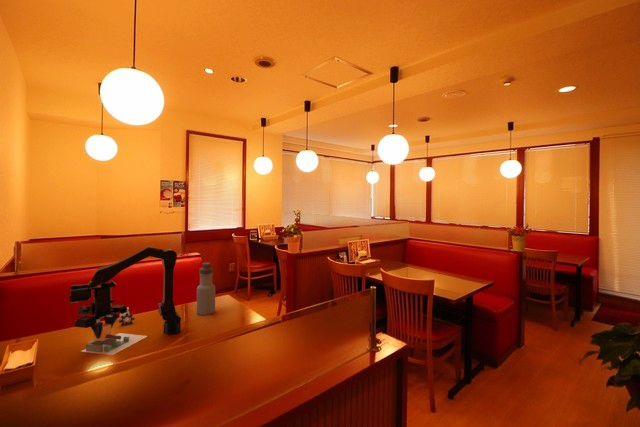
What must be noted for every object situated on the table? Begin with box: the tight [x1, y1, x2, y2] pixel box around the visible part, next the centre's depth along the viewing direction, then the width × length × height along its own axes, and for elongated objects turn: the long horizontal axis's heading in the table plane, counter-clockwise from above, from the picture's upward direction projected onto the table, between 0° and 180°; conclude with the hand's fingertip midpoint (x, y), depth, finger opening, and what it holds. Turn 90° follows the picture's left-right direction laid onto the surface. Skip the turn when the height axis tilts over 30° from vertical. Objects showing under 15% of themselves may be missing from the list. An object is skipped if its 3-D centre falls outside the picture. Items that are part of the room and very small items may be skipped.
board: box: [80, 332, 148, 356], centre depth 125 cm, size 15×18×1 cm
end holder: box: [85, 338, 116, 352], centre depth 121 cm, size 7×7×2 cm
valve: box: [118, 306, 136, 327], centre depth 150 cm, size 7×7×12 cm
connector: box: [93, 322, 121, 341], centre depth 120 cm, size 11×4×6 cm, turn 79°
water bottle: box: [196, 262, 216, 316], centre depth 166 cm, size 10×10×28 cm
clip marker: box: [115, 337, 129, 346], centre depth 125 cm, size 2×5×2 cm, turn 168°
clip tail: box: [104, 342, 119, 352], centre depth 120 cm, size 2×5×2 cm, turn 168°
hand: (102, 336), depth 121 cm, fingers closed on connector, 4 cm apart
